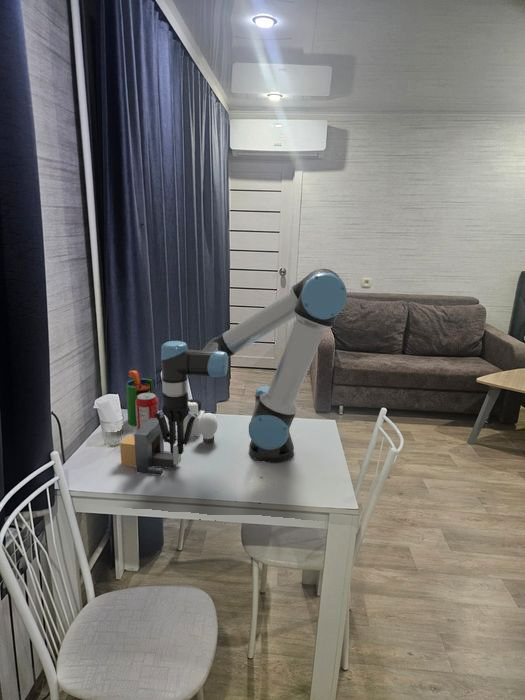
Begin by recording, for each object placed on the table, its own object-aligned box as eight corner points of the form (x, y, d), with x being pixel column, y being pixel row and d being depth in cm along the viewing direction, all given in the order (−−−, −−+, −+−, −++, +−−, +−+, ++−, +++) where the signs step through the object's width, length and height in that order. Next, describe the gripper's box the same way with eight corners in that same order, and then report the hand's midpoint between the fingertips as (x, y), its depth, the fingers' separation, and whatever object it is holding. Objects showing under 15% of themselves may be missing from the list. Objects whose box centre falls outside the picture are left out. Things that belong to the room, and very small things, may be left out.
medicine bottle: (186, 426, 168) (186, 396, 165) (205, 427, 167) (204, 398, 164) (180, 434, 161) (179, 404, 158) (199, 436, 160) (199, 405, 157)
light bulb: (221, 440, 157) (221, 412, 154) (210, 448, 152) (210, 419, 149) (205, 436, 160) (205, 408, 157) (194, 443, 155) (194, 414, 152)
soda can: (140, 440, 156) (138, 401, 152) (134, 432, 162) (132, 393, 158) (162, 436, 160) (160, 397, 156) (155, 427, 166) (154, 390, 162)
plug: (178, 461, 142) (177, 440, 140) (172, 470, 137) (171, 449, 135) (129, 456, 145) (128, 435, 143) (121, 464, 140) (119, 443, 138)
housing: (175, 456, 146) (174, 420, 142) (160, 475, 135) (159, 436, 131) (152, 453, 147) (151, 417, 144) (136, 472, 136) (134, 433, 132)
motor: (144, 427, 166) (142, 377, 161) (123, 424, 168) (119, 375, 162) (156, 416, 176) (154, 368, 170) (135, 414, 177) (132, 367, 172)
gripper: (199, 390, 135) (200, 458, 142) (159, 386, 138) (162, 454, 144) (191, 399, 128) (193, 471, 135) (149, 394, 130) (153, 466, 137)
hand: (177, 462), depth 139 cm, fingers closed
